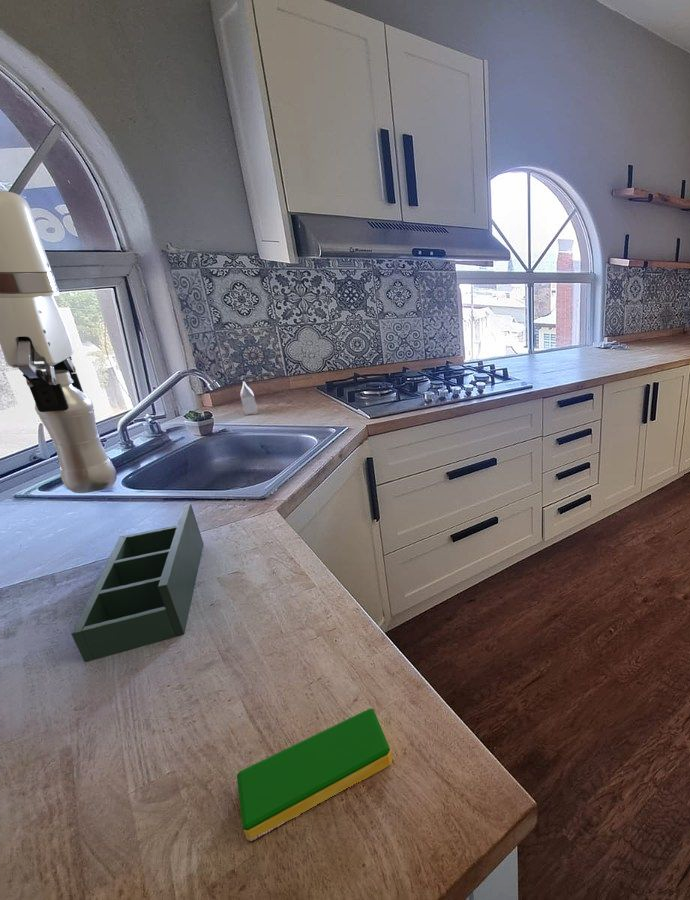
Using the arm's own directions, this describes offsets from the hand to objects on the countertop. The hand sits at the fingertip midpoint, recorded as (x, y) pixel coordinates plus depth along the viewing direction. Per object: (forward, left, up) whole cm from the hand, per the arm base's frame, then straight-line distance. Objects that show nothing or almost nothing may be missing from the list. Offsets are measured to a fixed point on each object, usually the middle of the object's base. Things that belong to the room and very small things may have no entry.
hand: (62, 403), depth 78 cm
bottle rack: (+6, -12, -30) cm, 33 cm away
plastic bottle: (0, 0, -15) cm, 15 cm away
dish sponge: (+27, -60, -30) cm, 73 cm away
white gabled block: (+17, +93, -30) cm, 99 cm away
